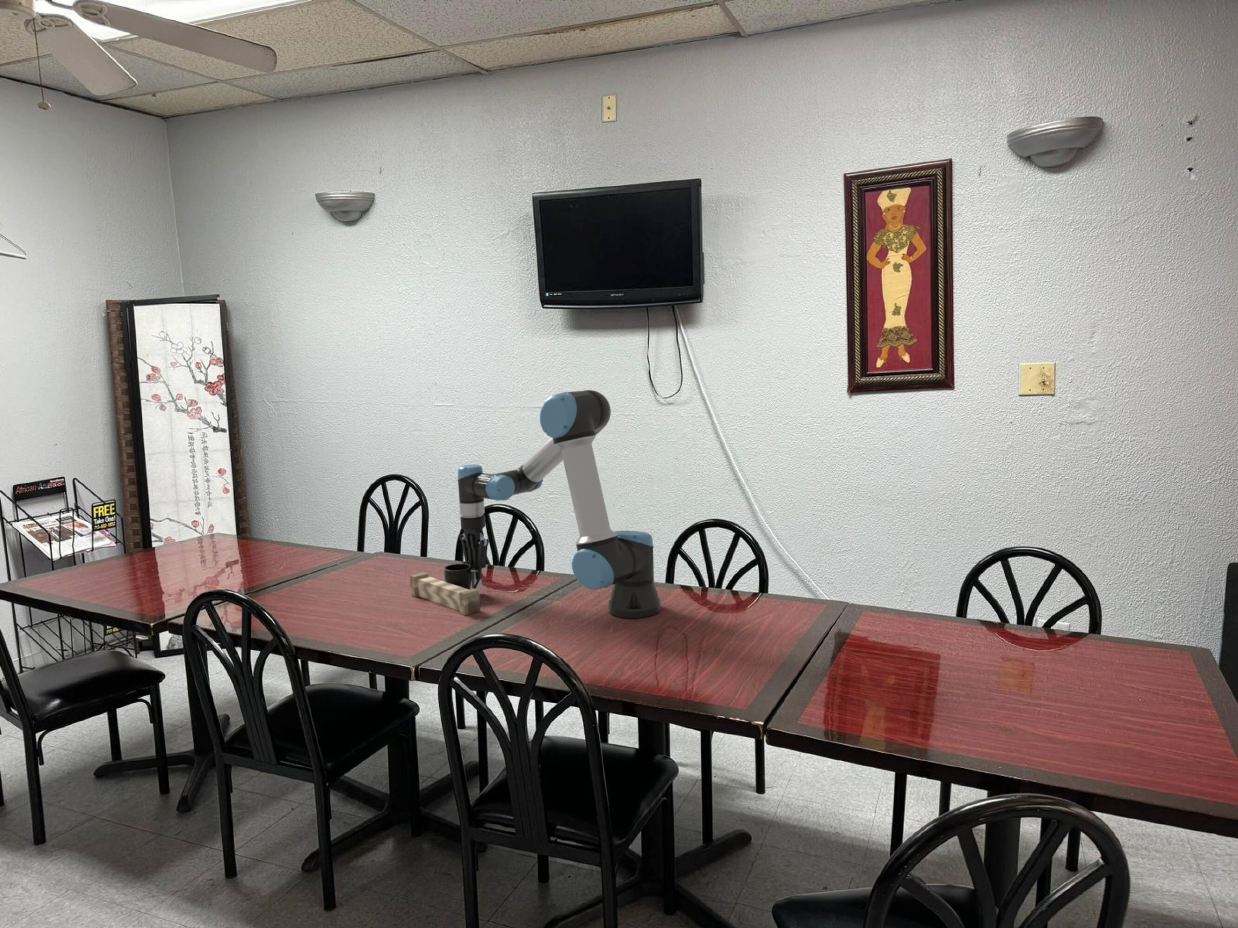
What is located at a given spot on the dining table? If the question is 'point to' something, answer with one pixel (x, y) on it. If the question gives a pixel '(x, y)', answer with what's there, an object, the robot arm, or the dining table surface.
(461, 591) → the batten
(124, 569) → the dining table surface
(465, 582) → the mug
